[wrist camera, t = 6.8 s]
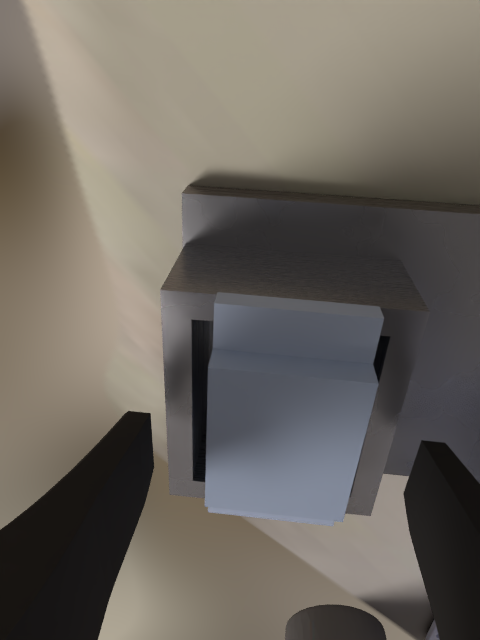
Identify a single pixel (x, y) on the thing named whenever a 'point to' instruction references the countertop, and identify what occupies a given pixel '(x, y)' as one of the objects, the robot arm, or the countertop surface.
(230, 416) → the block
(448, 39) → the countertop surface
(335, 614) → the bottle
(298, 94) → the countertop surface
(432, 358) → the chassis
